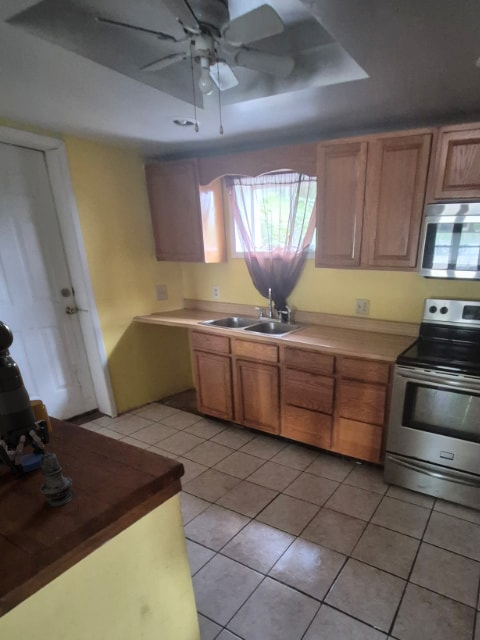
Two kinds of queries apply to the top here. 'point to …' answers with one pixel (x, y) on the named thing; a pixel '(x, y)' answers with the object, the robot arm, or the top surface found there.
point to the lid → (30, 461)
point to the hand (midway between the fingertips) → (31, 469)
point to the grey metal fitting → (55, 482)
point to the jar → (41, 412)
